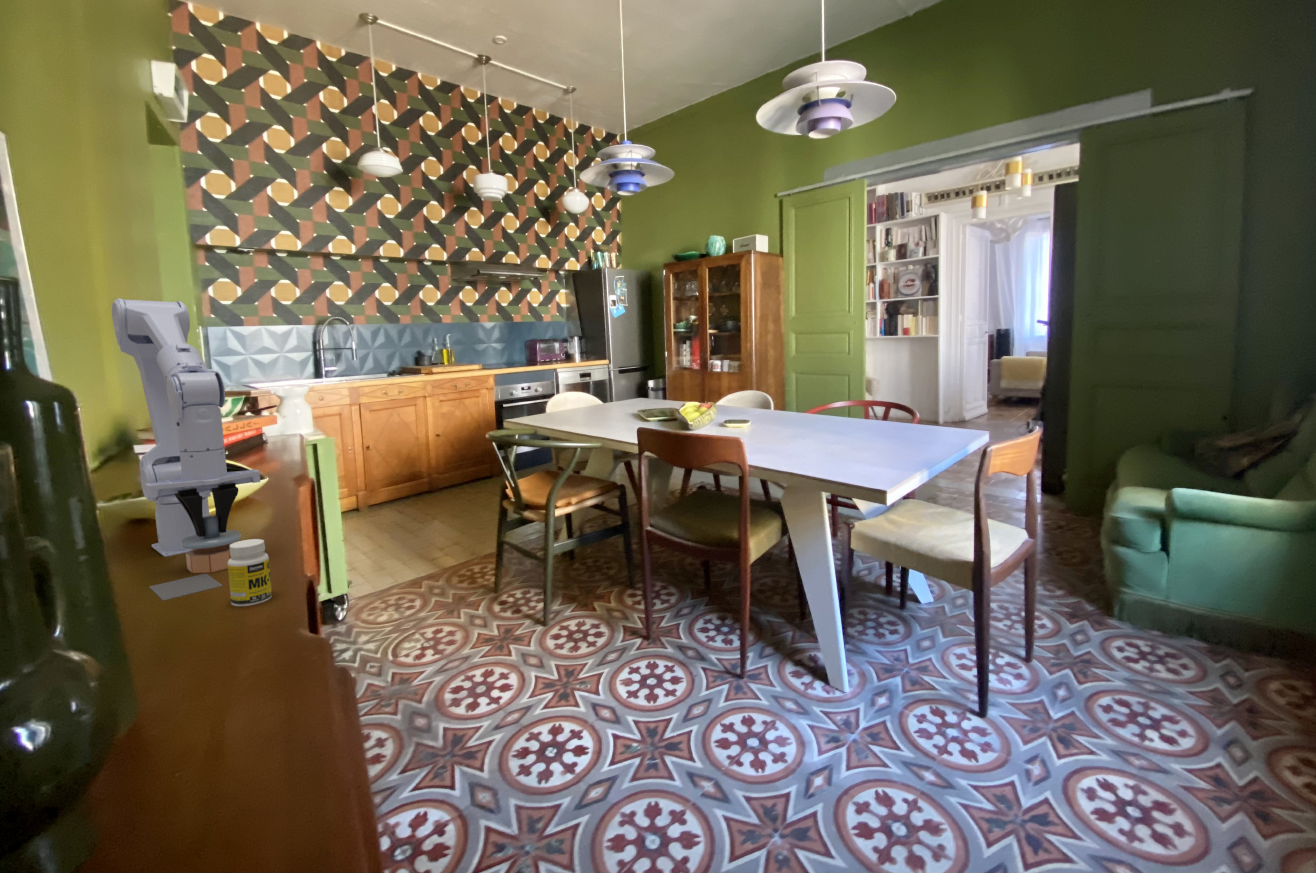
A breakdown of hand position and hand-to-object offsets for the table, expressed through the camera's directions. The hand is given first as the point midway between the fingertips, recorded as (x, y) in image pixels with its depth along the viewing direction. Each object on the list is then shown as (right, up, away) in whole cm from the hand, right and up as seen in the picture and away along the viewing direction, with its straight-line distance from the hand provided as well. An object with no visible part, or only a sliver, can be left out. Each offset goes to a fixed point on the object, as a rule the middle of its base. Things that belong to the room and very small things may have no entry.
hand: (211, 533), depth 98 cm
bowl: (0, -6, +1) cm, 6 cm away
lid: (0, -1, 0) cm, 1 cm away
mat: (+2, -7, -8) cm, 11 cm away
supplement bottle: (+15, -8, -13) cm, 21 cm away
